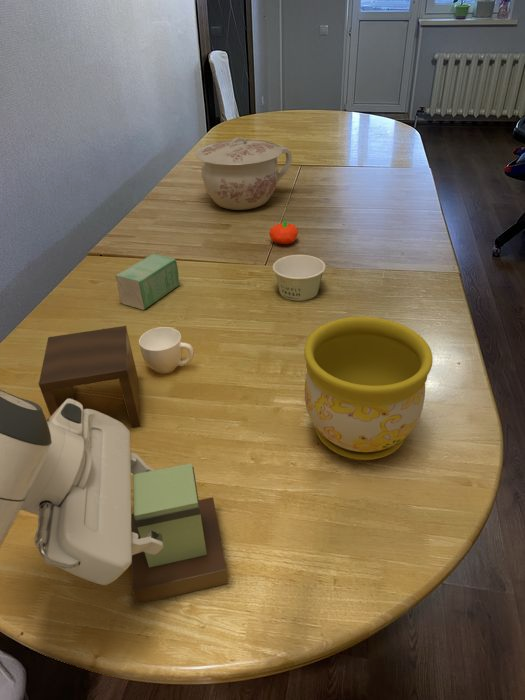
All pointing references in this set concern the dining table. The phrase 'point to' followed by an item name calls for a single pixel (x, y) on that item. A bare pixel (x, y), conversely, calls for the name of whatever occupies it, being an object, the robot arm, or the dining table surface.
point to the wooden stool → (90, 367)
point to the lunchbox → (169, 513)
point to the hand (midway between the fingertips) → (157, 510)
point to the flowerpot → (365, 384)
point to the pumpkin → (283, 233)
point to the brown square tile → (182, 565)
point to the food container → (299, 276)
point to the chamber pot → (242, 172)
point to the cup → (164, 349)
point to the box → (147, 281)
